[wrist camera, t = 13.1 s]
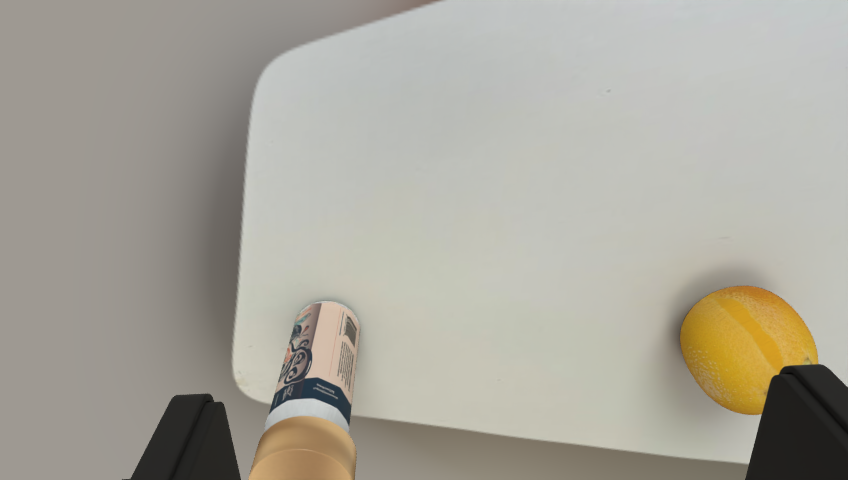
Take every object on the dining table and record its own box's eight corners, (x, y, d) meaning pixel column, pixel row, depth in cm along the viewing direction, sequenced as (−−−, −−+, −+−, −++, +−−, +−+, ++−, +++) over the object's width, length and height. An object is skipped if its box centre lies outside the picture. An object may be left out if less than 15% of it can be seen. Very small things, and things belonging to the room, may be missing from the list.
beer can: (300, 291, 44) (266, 404, 33) (366, 303, 45) (354, 418, 34) (290, 346, 46) (256, 470, 35) (354, 357, 46) (339, 482, 36)
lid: (265, 491, 36) (256, 528, 34) (250, 417, 33) (239, 451, 31) (360, 486, 36) (357, 523, 34) (352, 412, 34) (348, 446, 31)
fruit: (798, 317, 46) (871, 386, 39) (709, 382, 49) (763, 458, 41) (730, 246, 43) (795, 305, 36) (639, 318, 46) (684, 388, 39)
